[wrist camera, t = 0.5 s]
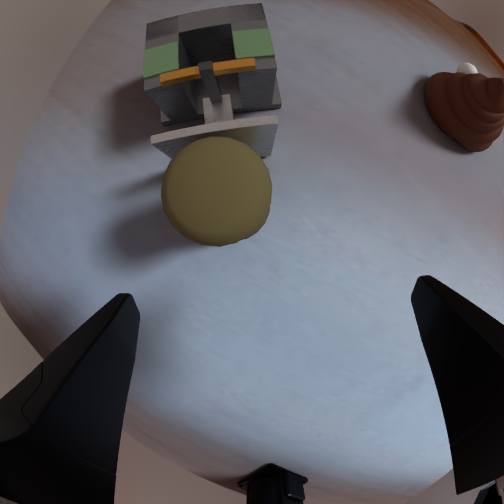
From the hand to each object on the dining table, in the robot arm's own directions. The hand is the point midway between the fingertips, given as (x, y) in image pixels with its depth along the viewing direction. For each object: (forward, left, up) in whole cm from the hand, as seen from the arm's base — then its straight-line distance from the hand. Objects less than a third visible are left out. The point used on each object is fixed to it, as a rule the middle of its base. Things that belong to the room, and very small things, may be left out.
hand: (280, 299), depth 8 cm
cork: (+1, +4, -15) cm, 15 cm away
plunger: (+5, +9, -14) cm, 17 cm away
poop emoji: (+25, -6, -15) cm, 30 cm away
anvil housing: (+8, +12, -15) cm, 20 cm away
